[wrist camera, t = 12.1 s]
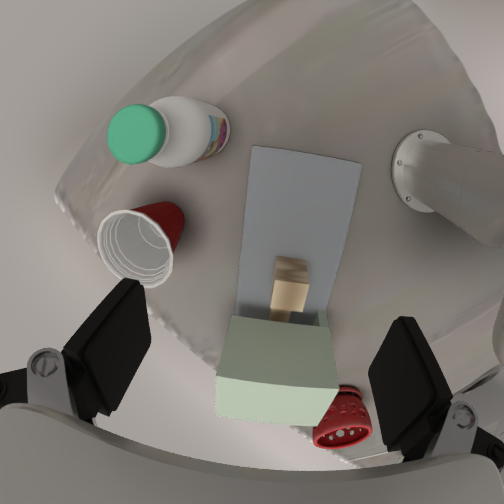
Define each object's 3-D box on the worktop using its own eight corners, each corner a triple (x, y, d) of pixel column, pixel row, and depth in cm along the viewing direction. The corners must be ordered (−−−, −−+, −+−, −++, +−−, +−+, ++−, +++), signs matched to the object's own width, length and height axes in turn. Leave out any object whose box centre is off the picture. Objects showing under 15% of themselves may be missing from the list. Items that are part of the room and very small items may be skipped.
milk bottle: (167, 130, 35) (75, 138, 17) (207, 93, 32) (136, 63, 14) (200, 168, 37) (129, 206, 19) (242, 133, 34) (201, 134, 16)
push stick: (305, 259, 40) (309, 284, 34) (282, 354, 49) (281, 382, 43) (276, 255, 40) (275, 279, 34) (259, 351, 49) (256, 379, 43)
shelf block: (325, 306, 45) (339, 388, 29) (311, 347, 49) (317, 426, 33) (237, 295, 45) (215, 375, 29) (233, 338, 50) (215, 415, 34)
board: (359, 163, 34) (361, 164, 33) (309, 354, 50) (309, 358, 49) (252, 145, 35) (252, 145, 34) (232, 345, 50) (231, 348, 50)
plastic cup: (140, 248, 44) (103, 285, 33) (135, 185, 39) (90, 207, 28) (200, 255, 43) (175, 298, 32) (200, 188, 38) (169, 212, 27)
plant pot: (304, 410, 59) (305, 450, 48) (321, 379, 53) (325, 425, 42) (351, 412, 58) (357, 450, 47) (373, 382, 52) (383, 424, 42)
